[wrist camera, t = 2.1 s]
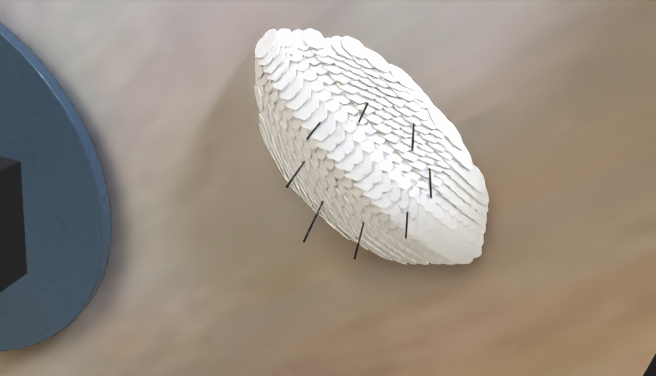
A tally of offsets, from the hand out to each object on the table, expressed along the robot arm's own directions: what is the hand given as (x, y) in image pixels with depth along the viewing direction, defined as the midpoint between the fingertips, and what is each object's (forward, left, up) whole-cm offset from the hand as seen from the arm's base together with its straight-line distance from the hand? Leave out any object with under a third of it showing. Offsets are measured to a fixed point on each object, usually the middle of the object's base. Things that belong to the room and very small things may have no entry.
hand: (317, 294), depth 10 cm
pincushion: (0, 0, -11) cm, 11 cm away
